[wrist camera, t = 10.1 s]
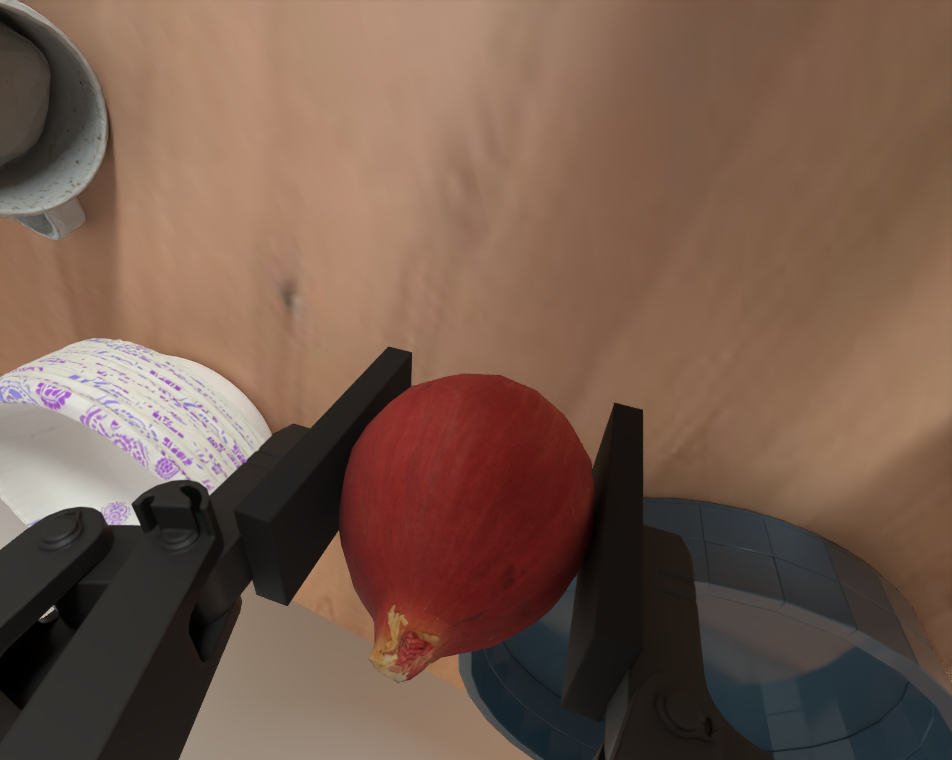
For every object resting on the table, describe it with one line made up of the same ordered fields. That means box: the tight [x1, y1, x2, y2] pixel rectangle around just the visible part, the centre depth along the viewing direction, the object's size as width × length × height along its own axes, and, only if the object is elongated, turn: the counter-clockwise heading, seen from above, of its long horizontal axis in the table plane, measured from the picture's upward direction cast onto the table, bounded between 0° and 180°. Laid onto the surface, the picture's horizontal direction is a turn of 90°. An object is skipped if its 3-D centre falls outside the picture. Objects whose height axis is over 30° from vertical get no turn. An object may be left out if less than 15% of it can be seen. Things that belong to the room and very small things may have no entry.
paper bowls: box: [0, 338, 272, 527], centre depth 27 cm, size 15×15×8 cm
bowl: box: [459, 498, 952, 760], centre depth 26 cm, size 24×24×4 cm
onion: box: [338, 374, 595, 683], centre depth 11 cm, size 6×6×8 cm
